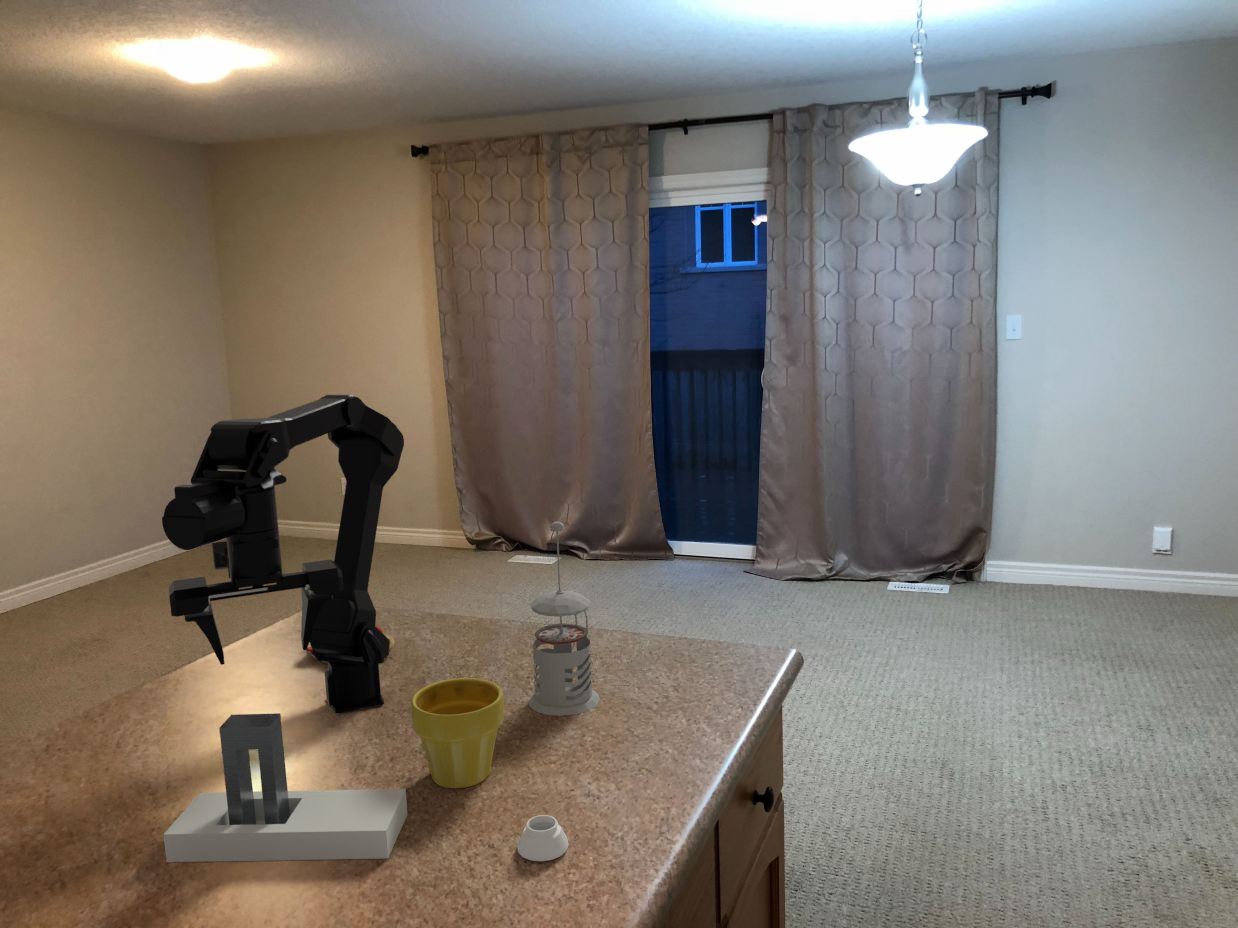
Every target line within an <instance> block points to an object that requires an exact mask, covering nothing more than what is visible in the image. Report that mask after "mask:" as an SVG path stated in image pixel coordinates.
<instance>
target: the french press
mask: <svg viewBox="0 0 1238 928" xmlns="http://www.w3.org/2000/svg"><path fill="white" fill-rule="evenodd" d="M549 529H550V532H552V533H553V532H556V552H557V556H556V557H557V575H558V578H557V579H558V590H552V591H550V592H547V593H545V594H543V595H540V596H538V597H536V598H535V599H534V600H532V601H531V603H530V604H529V606H530V609H531V610H532V611H533V612H534V613H536V614H537V615H541V616H546V617H559V623H554V624H553V623H552V624H548V625H545V626H544V625H543V627H540V628H538V629H537V630H536V631H535V633H534V636H535V640H534V642H533V643H532V651H533V652H532V654H533V655H532V656H533V658H532V659H533V670H534V672H533V674H534V675H533V677H534V681H533V682H534V692H533V694H532V695H531V696H530V697H529V699H528V701H527V703H528V706H529V708H531V709H532V710H533V711H535V712H536V713H540V714H543V715H548V716H559V717H560V716H571V715H579V714H582V713H585V712H587V711H590V710H592V709H593V708H595V707H596V706H598V704H599V702H600V700H601V698H600V695H599V694H598V692H596V691H595V690H594V689H593V686H592V685H593V683H592V681H593V680H592V671H591V670H592V663H591V660H592V658H591V657H592V655H591V640H590V639H589V637H588V633H589V624H588V615H587V610H588V609H589V608H590V606H591V604H592V603H591V600H590V599H589V598H587V597H585V596H584V595H582V594H581V593H580V592H575V591H573V590H561V571H560V569H561V568H560V549H559V547H560V546H559V545H560V544H559V532H563V531H564V530H565V525H564V523H563V522H562V521H553V522H552V523H551V524H550V527H549ZM582 613H583V614H584V615H585V626H582V625H581V624H578V615H579V614H582ZM570 616H574V619H575V620H574V621H575V623H567V622H566V623H565V622H564V623H563V622H562V617H570ZM541 645H552V646H553V648H548V647H547V648H540V649H538V648H539V647H540V646H541ZM575 645H576V651H573V650H574V647H575ZM575 668H576V670H577V671H575V672H573V669H575ZM575 678H577V680H576V681H574V679H575Z"/></svg>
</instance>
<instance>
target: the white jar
mask: <svg viewBox="0 0 1238 928" xmlns="http://www.w3.org/2000/svg"><path fill="white" fill-rule="evenodd" d="M516 845H517V847H516V848H517V849H516V850H517V853H518V854H519V855H520V856H521V857H522V858H523V859H527V860H529V861H530V862H532V861H533V862H546V861H552V860H554V859H557V858H559V857H561V856H563V855H564V854H565V853H566V852H567V850H568V848H569V840H568V837H567V835H566V833H565V831H564V830H563V828H562V827H561V825H560V824H559V823H558V820H557V818H555V817H554V816H551V815H548V814H540V815H535V816H533V817H531V818H529V819H528V820H527V821H526V825H525V826H524V829H523V830H522V832H521V835H520V836H519V839H518V841H517V844H516Z"/></svg>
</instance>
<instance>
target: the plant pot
mask: <svg viewBox="0 0 1238 928" xmlns="http://www.w3.org/2000/svg"><path fill="white" fill-rule="evenodd" d="M410 707H411V708H410V710H411V721H412V729H413V731H414V732H415V734H416V735H417V736H419V737H420V740H421V743H422V748H423V750H424V754H425V757H426V760H427V764H428V768H429V771H430V774H431V778H432V780H433V782H434V783H435V784H437V785H438V786H440V787H443V788H446V789H447V788H449V789H463V788H469V787H473V786H476V785H478V784H480V783H482V782H483V781H485V780H486V778H487V777H488V776H489V775H490V772H491V769H492V762H493V755H494V749H495V745H496V739H497V733H498V729H499V728H500V726H501V725H502V724H503V721H504V694H503V690H502V688H501V686H499V684H496V683H494V682H493V681H490V680H486V679H481V678H476V677H475V678H474V677H460V678H459V677H457V678H450V679H449V678H448V679H444V680H439V681H436V682H433V683H431V684H428V685H426V686H424V687H422V688H420V689H419V690H417V692H415V694H414V695H412V699H411V703H410Z"/></svg>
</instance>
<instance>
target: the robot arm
mask: <svg viewBox="0 0 1238 928" xmlns="http://www.w3.org/2000/svg"><path fill="white" fill-rule="evenodd" d="M326 434H327V439H328V440H329V441H330V442H331V443H332V444H333V446H335V447H336V448H337V449H338V453H337V454H338V455H337V456H338V457H337V462H338V464H339V467H340V469H341V471H342V474H343V477H344V478H345V479H344V480H345V490H344V494H343V495H344V496H343V500H342V507H341V516H340V520H339V527H338V533H337V534H338V535H337V539H336V546H335V551H334V559H333V560H332V559H326V560H325V559H324V560H316V561H310V562H304V563H302V568H301V569H302V571H297V572H291V573H290V572H289V573H284V574H283V565H282V552H281V543H280V531H279V529H280V528H279V521H278V520H279V519H278V510H277V509H278V508H277V500H276V499H277V498H276V497H277V496H276V489H275V486H278V485H282V484H286V483H287V477H286V476H285V475H284V474H283V473H281V472H279V471H277V470H276V468H275V467H277V466H278V465H280V464H282V462H284V461H286V459H287V458H289V455H290V451H291V450H293V449H294V448H295V447H298V446H300V445H302V444H305V443H307V442H310V441H312V440H315V439H317V438H319V437H322V436H325V435H326ZM404 446H405V438H404V435H403V433H402V431H401V430H400V429H399V428H398V426H397V425H396V423H394V422H393V421H392V420H390V418H389V417H388V416H386V415H384V414H383V413H380V412H378V411H376V410H375V409H373V408H371V407H369V406H368V405H366V404H365V402H363V401H362V399H361V398H360V397H358V396H355V395H353V394H326V395H324V396H321V397H320V398H319V399H317V400H314V401H312V402H311V401H310V402H308V403H305V404H302V405H300V406H297V407H293V408H291V409H288V410H286V411H283V412H280V413H276V414H274V415H270V416H268V417H261V418H260V417H258V418H240V419H239V418H237V419H227V420H226V419H225V420H220V421H218V422H216V423H214V425H212V426H211V427H210V434H209V435H208V437H207V439H206V441H205V445H204V447H203V448H202V451H201V454H200V456H199V459H198V461H197V463H196V466H195V469H194V471H193V473H192V476H191V479H190V483H191V484H180V485H178V486H175V487H174V489H173V491H174V498H173V499H171V500H170V501H169V502H168V503H167V504H166V506H165V508H164V511H163V516H161V517H162V518H161V524H162V527H163V531H164V533H165V534H164V535H165V536H166V537H167V539H168V540H169V541H170V543H171V544H173V546H175V547H176V548H178V549H179V550H180V549H181V550H183V551H190V550H195V549H198V548H201V547H204V546H207V545H209V544H211V549H212V559H213V567H214V570H216V571H217V570H222V569H223V570H224V569H227V573H228V578H229V579H230V581H226V582H218V583H213V584H211V583H210V584H207V579H206V576H199V577H191V578H186V579H177V580H173V581H172V582H171V584H170V585H169V586H168V595H169V605H170V615H171V617H177V618H178V617H184V622H185V623H190V622H191V623H192V622H194V623H195V624H196V625H197V626H198V628H199V629H200V631H201V632H202V633H203V634H204V635H205V637H206V639H207V640H208V642H209V644H210V646H211V648H212V650H213V652H214V653H215V656H216V657H217V659H218V662H219V663H220V665H222V666H223V665H225V654H224V649H223V645H222V640H221V637H220V633H219V630H218V625H217V622H216V621H217V620H216V617H215V613H214V609H213V606H212V602H214V601H220V600H228V599H234V598H240V597H249V596H255V595H261V594H268V593H269V594H270V593H277V592H281V591H288V590H295V589H300V590H301V626H300V628H301V629H300V631H301V632H300V635H301V637H300V638H301V646H302V650H303V651H306V650H307V648H309V644H310V647H312V649H313V652H314V655H315V657H316V658H315V659H316V662H320V663H322V662H321V661H325V662H328V664H327V666H328V667H327V668H328V669H326V670H325V671H324V682H325V683H324V684H325V693H326V694H325V696H326V700H327V703H328V705H329V706H330V707H332V708H333V710H334V713H335V714H342V713H343V714H344V713H347V712H353V711H357V710H362V709H368V708H372V707H378V706H381V705H384V704H385V699H384V697H383V696H382V693H381V680H380V678H381V676H380V665H379V664H383V663H384V662H385V658H387V657H389V652H390V650H389V646H390V640H389V639H388V638H387V637H386V636H385V635H384V634H383V633H384V632H383V633H382V632H381V631H379V630H378V629H377V628H376V627H375V625H376V619H377V611H376V608H375V606H374V603H373V601H372V599H371V595H370V594H369V581H370V578H371V570H372V569H371V568H372V564H373V563H372V562H373V555H374V549H375V543H376V537H377V530H378V524H379V516H380V512H381V511H380V510H381V504H382V503H381V502H382V497H383V492H384V487H385V485H386V484H387V483H388V482H389V481H390V480H391V478H392V477H393V476H394V474H395V473H396V472H397V470H398V469H399V464H400V461H401V457H402V453H403V450H404V448H405V447H404ZM223 539H226V541H225V540H224V541H221V540H223Z"/></svg>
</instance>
